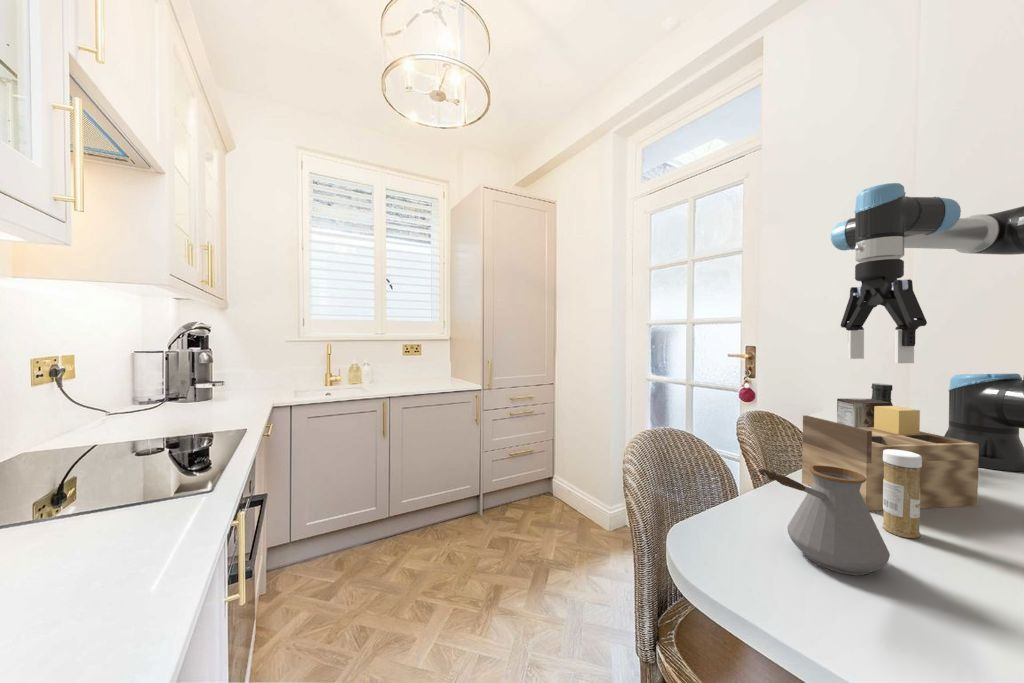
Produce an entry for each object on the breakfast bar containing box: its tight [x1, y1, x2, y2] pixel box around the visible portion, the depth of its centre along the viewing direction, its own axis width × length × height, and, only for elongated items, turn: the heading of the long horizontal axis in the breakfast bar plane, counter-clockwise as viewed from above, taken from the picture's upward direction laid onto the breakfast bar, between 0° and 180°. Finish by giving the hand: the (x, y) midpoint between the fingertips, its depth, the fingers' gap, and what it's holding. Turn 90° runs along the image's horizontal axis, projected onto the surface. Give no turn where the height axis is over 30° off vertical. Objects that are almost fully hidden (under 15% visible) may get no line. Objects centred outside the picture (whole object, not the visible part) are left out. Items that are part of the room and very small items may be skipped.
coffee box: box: [836, 398, 893, 428], centre depth 100 cm, size 9×6×16 cm
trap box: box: [801, 415, 979, 512], centre depth 80 cm, size 24×14×15 cm, turn 96°
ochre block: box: [874, 405, 921, 434], centre depth 84 cm, size 5×5×5 cm
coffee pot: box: [750, 465, 891, 576], centre depth 55 cm, size 21×12×15 cm, turn 108°
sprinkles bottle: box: [881, 449, 922, 539], centre depth 64 cm, size 5×5×14 cm
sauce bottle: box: [870, 382, 894, 406], centre depth 104 cm, size 6×6×20 cm
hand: (878, 360), depth 82 cm, fingers open, 13 cm apart
